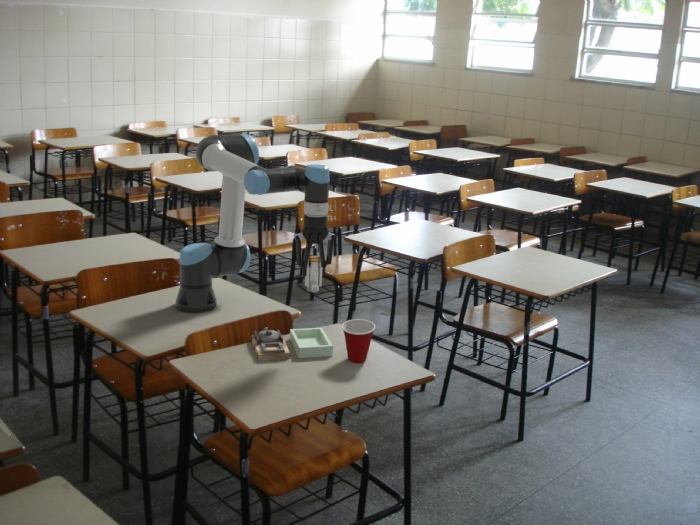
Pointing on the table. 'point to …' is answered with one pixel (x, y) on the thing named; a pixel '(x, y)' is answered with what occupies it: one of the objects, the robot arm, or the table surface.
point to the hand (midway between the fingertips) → (313, 285)
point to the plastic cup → (358, 338)
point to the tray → (311, 342)
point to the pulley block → (270, 345)
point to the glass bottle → (313, 273)
